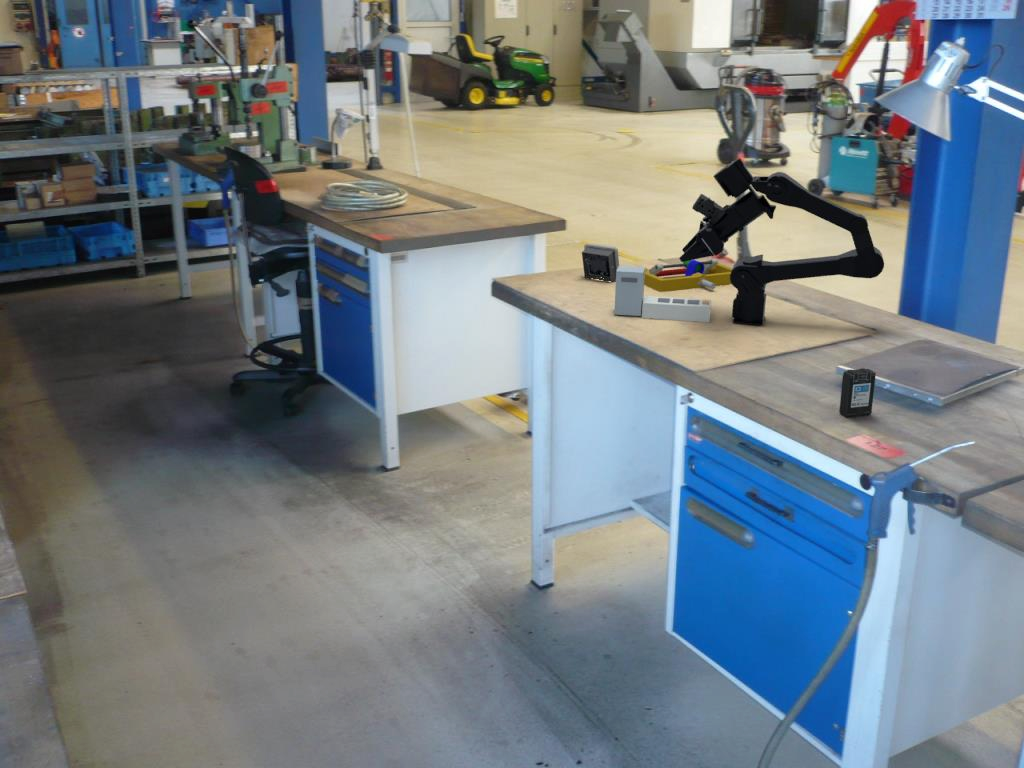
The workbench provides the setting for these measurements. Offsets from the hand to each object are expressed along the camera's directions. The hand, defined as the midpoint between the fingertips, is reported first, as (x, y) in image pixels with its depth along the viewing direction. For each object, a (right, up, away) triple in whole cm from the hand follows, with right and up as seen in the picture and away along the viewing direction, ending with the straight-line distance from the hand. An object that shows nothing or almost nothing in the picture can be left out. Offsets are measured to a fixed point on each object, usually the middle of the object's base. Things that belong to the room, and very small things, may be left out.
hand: (681, 255), depth 238 cm
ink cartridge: (+21, -34, -54) cm, 67 cm away
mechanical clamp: (+7, -4, +34) cm, 35 cm away
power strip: (0, -12, +9) cm, 15 cm away
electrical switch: (-15, -2, +36) cm, 39 cm away
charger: (-10, -12, +6) cm, 17 cm away
